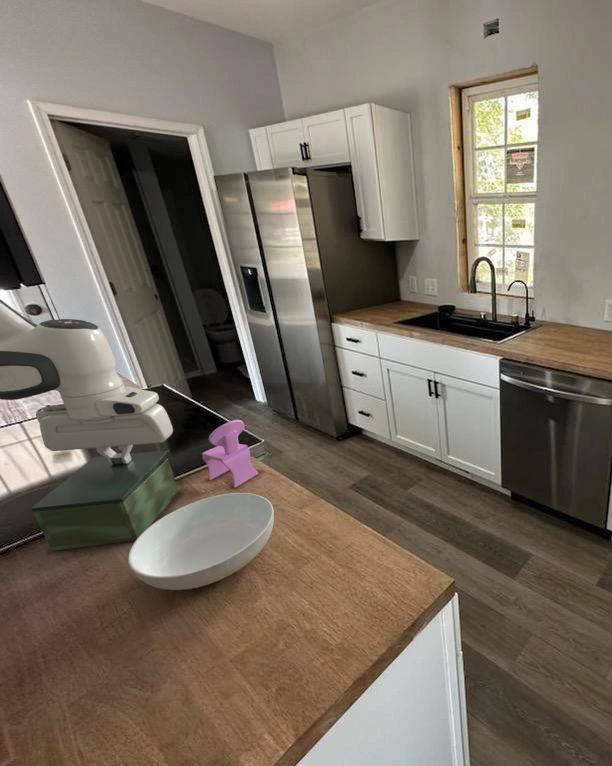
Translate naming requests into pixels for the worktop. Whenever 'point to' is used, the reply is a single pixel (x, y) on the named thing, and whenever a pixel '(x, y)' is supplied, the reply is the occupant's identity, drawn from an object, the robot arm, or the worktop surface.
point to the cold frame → (110, 515)
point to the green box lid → (102, 482)
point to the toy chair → (229, 453)
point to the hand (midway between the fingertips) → (121, 462)
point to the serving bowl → (202, 541)
